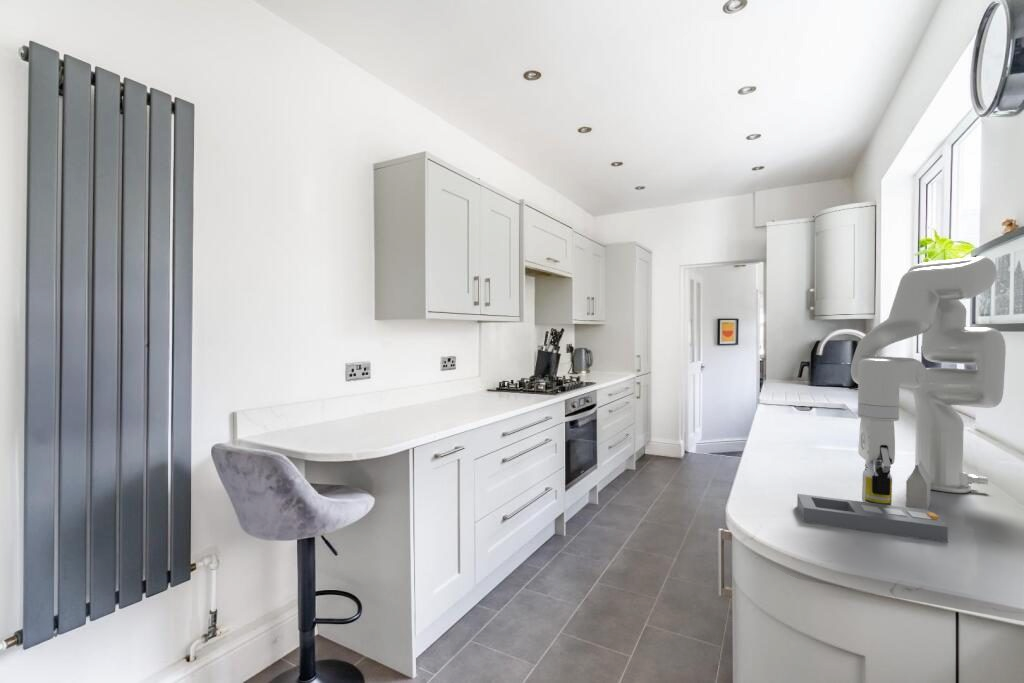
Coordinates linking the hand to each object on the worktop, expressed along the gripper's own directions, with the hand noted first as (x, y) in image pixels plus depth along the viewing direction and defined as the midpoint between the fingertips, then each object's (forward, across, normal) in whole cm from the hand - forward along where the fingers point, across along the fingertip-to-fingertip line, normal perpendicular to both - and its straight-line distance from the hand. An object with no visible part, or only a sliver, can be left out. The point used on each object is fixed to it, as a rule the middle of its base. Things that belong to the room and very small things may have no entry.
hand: (876, 489), depth 109 cm
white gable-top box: (+5, -8, +10) cm, 14 cm away
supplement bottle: (+4, 0, 0) cm, 4 cm away
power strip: (+5, +11, -5) cm, 13 cm away
